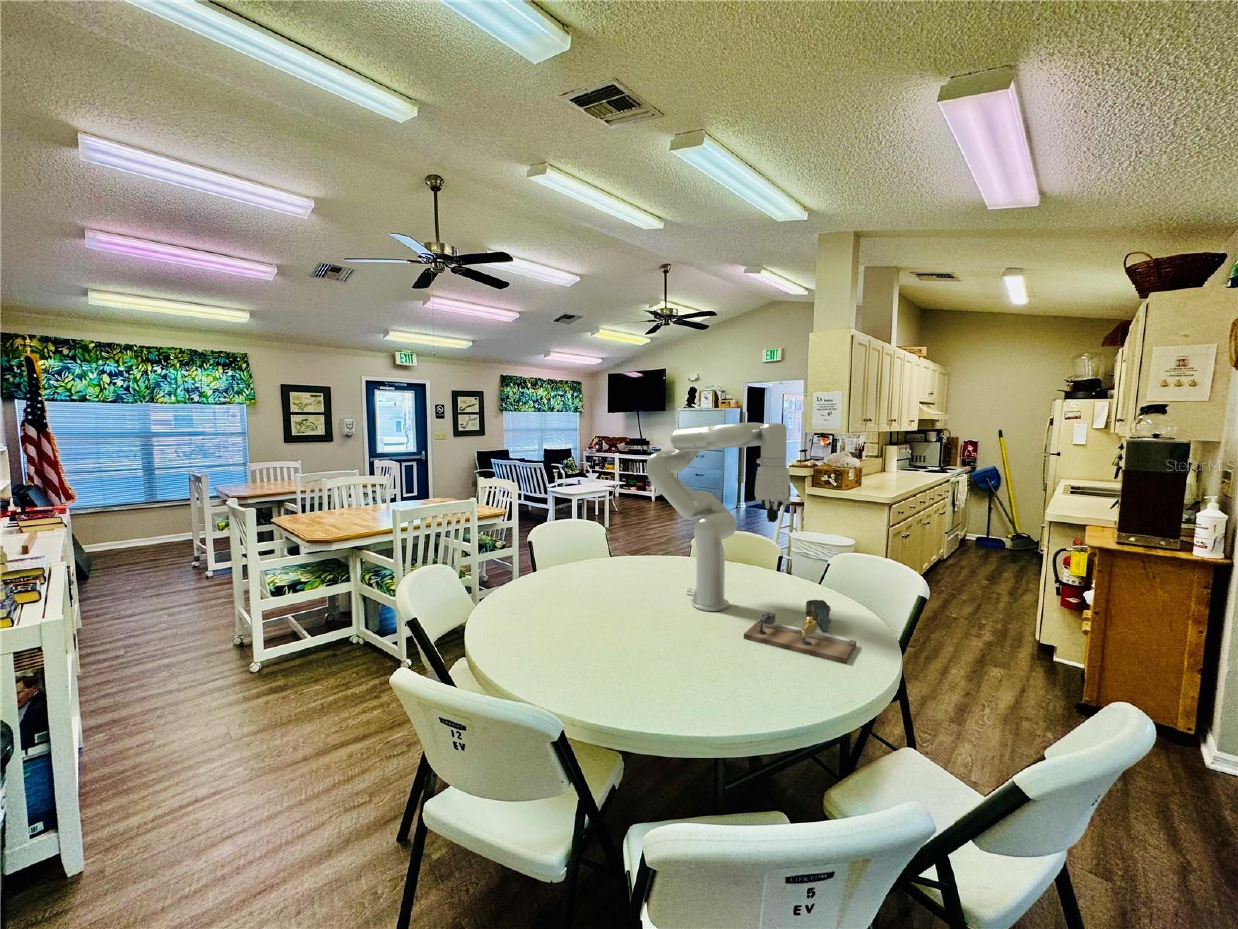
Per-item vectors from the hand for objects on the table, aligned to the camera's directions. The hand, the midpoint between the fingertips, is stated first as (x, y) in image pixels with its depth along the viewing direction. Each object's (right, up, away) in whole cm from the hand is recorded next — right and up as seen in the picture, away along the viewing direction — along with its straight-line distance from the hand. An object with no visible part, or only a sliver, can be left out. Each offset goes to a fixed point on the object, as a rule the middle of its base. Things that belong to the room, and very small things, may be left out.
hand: (772, 521), depth 161 cm
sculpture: (+14, -33, 0) cm, 36 cm away
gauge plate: (+4, -33, -13) cm, 36 cm away
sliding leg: (+6, -31, -14) cm, 35 cm away
